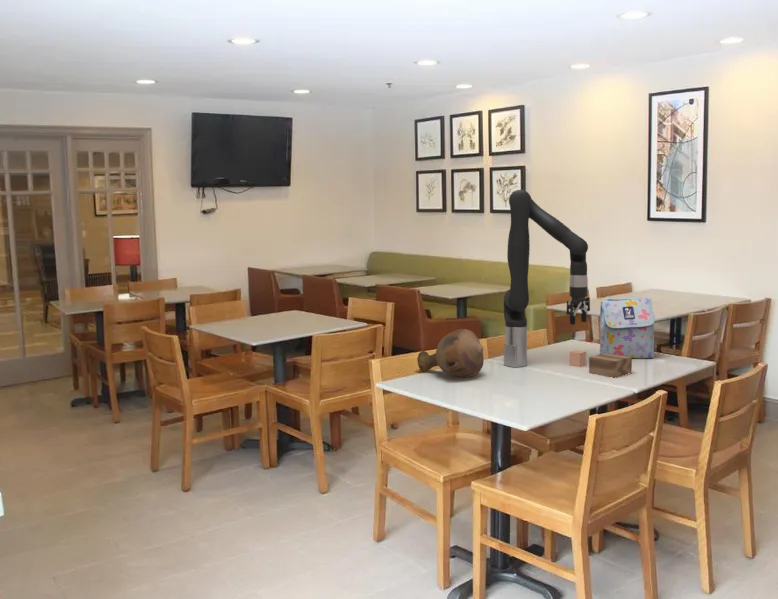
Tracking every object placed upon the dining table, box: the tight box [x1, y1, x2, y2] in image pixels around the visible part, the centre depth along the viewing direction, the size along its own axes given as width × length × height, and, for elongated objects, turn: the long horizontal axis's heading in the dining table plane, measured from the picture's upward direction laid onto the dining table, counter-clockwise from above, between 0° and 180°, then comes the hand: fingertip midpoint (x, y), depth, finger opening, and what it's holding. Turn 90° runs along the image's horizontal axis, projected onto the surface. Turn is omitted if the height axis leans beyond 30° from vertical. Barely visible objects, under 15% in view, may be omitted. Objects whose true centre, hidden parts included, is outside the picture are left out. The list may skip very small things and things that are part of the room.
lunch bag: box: [599, 297, 656, 359], centre depth 346 cm, size 22×17×26 cm
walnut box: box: [588, 353, 633, 379], centre depth 316 cm, size 12×12×7 cm
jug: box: [416, 328, 484, 378], centre depth 318 cm, size 20×20×30 cm
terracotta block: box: [569, 349, 587, 368], centre depth 332 cm, size 5×5×6 cm
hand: (578, 323), depth 330 cm, fingers open, 8 cm apart
